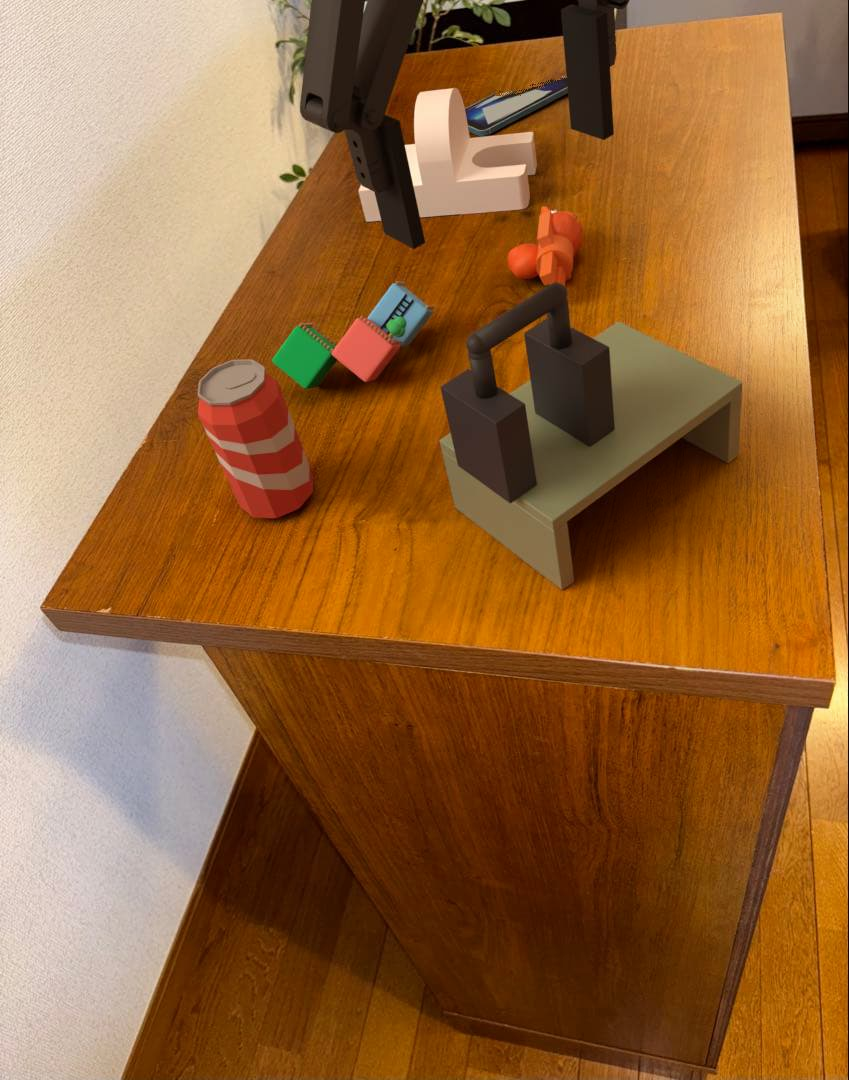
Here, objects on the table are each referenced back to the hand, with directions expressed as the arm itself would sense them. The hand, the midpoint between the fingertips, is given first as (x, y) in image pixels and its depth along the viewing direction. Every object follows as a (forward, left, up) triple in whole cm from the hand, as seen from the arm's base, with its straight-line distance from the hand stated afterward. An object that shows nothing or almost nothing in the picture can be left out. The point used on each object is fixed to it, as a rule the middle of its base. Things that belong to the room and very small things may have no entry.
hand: (502, 183), depth 54 cm
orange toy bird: (+24, -22, -27) cm, 42 cm away
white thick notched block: (+45, -27, -27) cm, 59 cm away
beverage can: (+18, +13, -27) cm, 35 cm away
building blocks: (+27, -2, -27) cm, 38 cm away
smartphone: (+55, -45, -26) cm, 76 cm away
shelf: (0, -5, -26) cm, 27 cm away
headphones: (0, 0, -19) cm, 19 cm away
